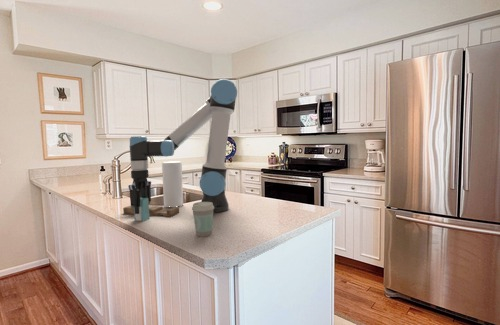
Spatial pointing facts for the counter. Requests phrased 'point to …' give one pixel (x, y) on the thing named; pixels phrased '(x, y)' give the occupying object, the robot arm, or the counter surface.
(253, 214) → the counter surface
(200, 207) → the coffee cup
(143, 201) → the block
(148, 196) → the robot arm
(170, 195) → the tall pillar cylinder
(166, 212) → the rail
